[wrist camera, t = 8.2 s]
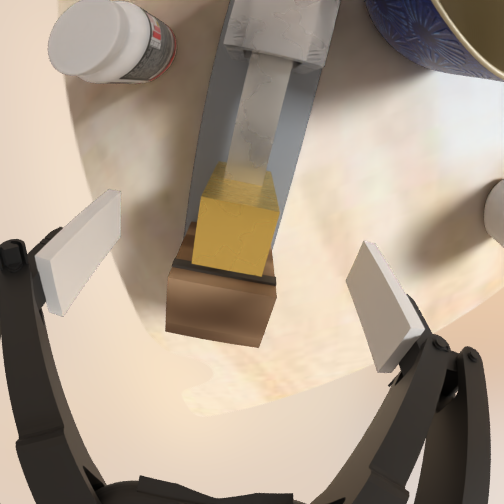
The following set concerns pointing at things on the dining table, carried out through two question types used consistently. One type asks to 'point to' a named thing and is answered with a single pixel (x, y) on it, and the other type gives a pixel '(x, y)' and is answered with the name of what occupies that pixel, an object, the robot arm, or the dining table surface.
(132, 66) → the pill bottle
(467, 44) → the planter
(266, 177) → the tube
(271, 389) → the dining table surface
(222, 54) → the board
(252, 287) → the socket
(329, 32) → the sleeve
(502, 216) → the can
